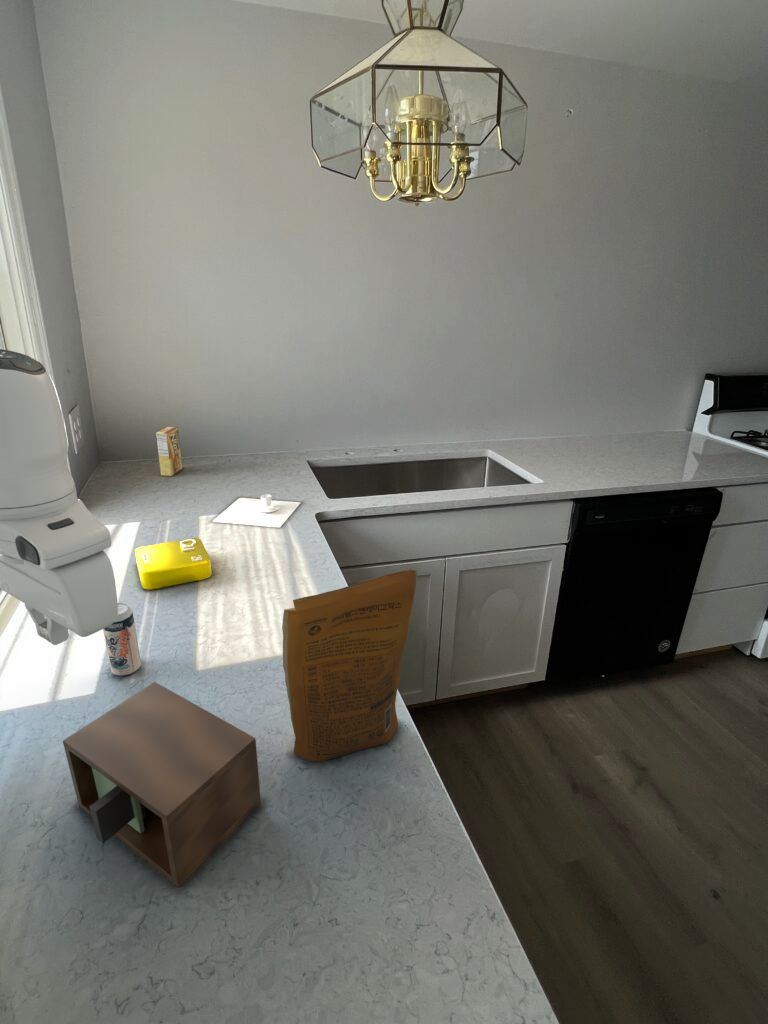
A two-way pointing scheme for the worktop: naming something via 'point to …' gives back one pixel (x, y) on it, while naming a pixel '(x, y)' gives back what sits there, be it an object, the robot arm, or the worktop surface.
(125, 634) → the beer can
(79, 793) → the brown wooden box
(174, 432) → the candy box
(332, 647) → the pancake mix bag
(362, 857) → the worktop surface
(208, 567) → the yellow box
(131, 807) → the sliding door
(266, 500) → the teacup and saucer
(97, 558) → the robot arm
